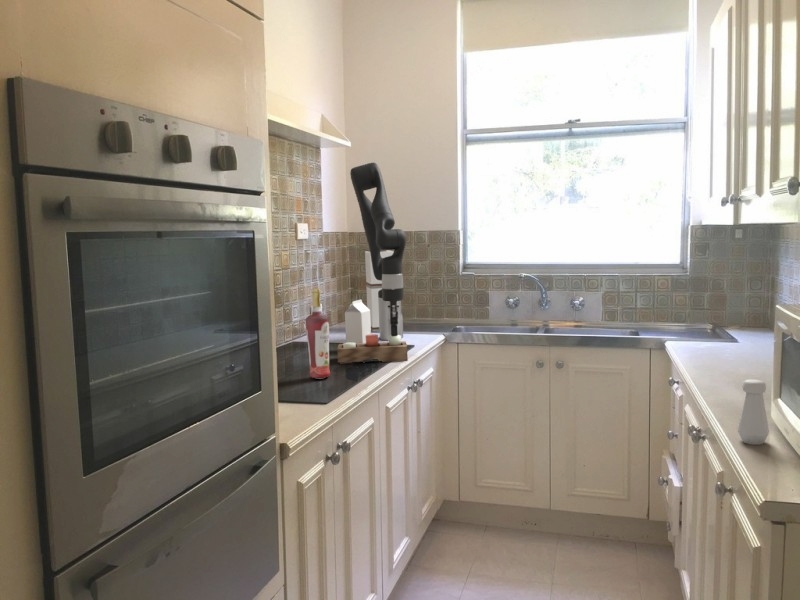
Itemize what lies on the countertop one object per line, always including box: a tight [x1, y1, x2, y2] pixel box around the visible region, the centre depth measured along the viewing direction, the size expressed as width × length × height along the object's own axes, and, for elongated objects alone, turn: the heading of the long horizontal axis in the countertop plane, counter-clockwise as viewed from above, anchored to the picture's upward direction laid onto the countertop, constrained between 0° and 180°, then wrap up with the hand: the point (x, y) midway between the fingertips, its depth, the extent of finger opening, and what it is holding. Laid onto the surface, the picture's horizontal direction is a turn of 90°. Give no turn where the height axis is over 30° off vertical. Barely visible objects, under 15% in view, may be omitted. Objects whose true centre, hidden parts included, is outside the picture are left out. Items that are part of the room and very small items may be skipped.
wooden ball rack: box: [337, 340, 409, 363], centre depth 241 cm, size 24×10×5 cm, turn 93°
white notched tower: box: [364, 250, 394, 333], centre depth 305 cm, size 11×11×35 cm
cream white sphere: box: [388, 335, 402, 346], centre depth 241 cm, size 4×4×4 cm
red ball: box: [366, 333, 379, 346], centre depth 240 cm, size 4×4×4 cm
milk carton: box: [344, 299, 372, 343], centre depth 257 cm, size 7×7×19 cm
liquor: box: [305, 288, 332, 379], centre depth 213 cm, size 7×7×28 cm
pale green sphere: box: [342, 342, 356, 348], centre depth 240 cm, size 4×4×4 cm
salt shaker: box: [737, 378, 770, 446], centre depth 141 cm, size 6×6×13 cm
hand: (394, 335), depth 240 cm, fingers closed
